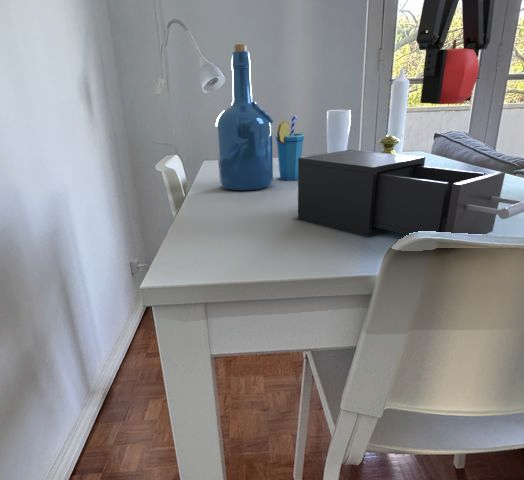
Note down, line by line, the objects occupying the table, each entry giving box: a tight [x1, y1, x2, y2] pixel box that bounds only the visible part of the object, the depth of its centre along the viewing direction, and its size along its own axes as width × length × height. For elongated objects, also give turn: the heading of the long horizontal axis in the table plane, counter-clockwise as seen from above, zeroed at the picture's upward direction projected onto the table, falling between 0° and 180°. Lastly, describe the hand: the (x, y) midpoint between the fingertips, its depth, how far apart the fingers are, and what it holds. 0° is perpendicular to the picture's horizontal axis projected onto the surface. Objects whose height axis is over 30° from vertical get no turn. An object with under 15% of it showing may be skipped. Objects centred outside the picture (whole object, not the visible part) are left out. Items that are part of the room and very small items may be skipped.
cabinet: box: [297, 149, 426, 237], centre depth 84 cm, size 17×14×11 cm
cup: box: [274, 114, 305, 181], centre depth 123 cm, size 14×8×15 cm, turn 163°
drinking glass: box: [325, 109, 352, 153], centre depth 138 cm, size 7×7×15 cm
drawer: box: [372, 165, 524, 235], centre depth 72 cm, size 22×13×9 cm, turn 40°
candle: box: [387, 66, 411, 155], centre depth 132 cm, size 7×7×25 cm
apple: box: [422, 39, 480, 105], centre depth 68 cm, size 8×8×8 cm
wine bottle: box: [215, 43, 275, 192], centre depth 110 cm, size 14×13×30 cm
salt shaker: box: [378, 134, 399, 154], centre depth 120 cm, size 7×7×10 cm
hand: (446, 101), depth 70 cm, fingers closed on apple, 8 cm apart
